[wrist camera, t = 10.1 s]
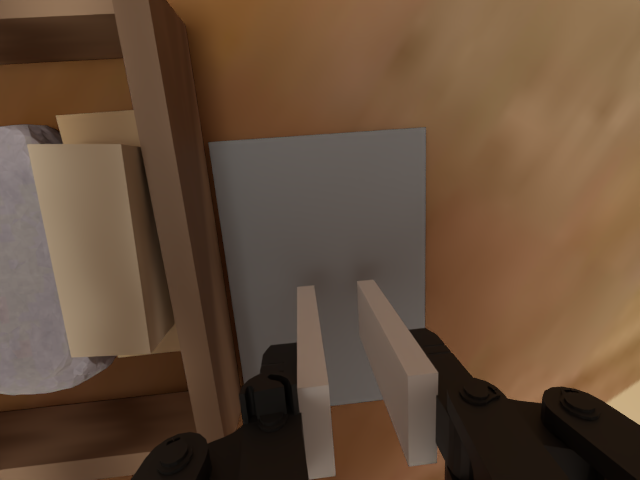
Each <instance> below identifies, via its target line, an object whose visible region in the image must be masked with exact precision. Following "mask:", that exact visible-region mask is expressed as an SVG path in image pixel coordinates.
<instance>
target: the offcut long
mask: <svg viewBox="0 0 640 480" xmlns="http://www.w3.org/2000/svg"><path fill="white" fill-rule="evenodd" d="M56 119H57V123H58V126H59V130H60V134H61V138H62V142H63V144H123V145H130V146H137V147H141V146H140V141H139V136H138V130H137V125H136V120H135V115H134V110H126V111H112V112H98V113H84V114H71V115H57V116H56ZM174 323H175V319H174ZM175 351H181V349H180V344H179V339H178V334H177V329H176V324H174V325H173V326H172V328H171V329H170V330H169V331H168V333H167V334H166V335H165V337H164V338H163V339H162V340H161V342H160V343H159V344H158V345H157V347H156V348H155V349H154V350H153V352H152V353H151V354H157V353H166V352H175ZM139 355H148V354H138V355H118V358H120V357H129V356H139Z"/></svg>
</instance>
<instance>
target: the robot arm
mask: <svg viewBox="0 0 640 480" xmlns="http://www.w3.org/2000/svg"><path fill="white" fill-rule="evenodd" d="M357 294H358V314H359V335H360V338H361V341H362V344H363V346H364V349H365V352H366V354H367V357H368V360H369V362H370V365H371V368H372V370H373V373H374V376H375V378H376V381H377V384H378V386H379V389H380V392H381V394H382V397H383V400H384V402H385V405H386V408H387V410H388V413H389V415H390V418H391V421H392V423H393V426H394V429H395V431H396V434H397V437H398V439H399V442H400V445H401V447H402V450H403V453H404V455H405V458H406V461H407V463H408V466H417V465H425V464H433V463H437V446H438V448H439V450H440V452H441V454H442V456H443V458H444V460H445V480H640V425H639V424H637V423H636V422H634V421H633V420H631V419H629V418H628V417H626V416H625V415H623V414H622V413H620V412H619V411H617V410H616V409H614V408H613V407H611V406H609V405H608V404H606V403H605V402H603V401H602V400H600V399H598V398H596V397H594V396H592V395H590V394H588V393H586V392H583V391H580V390H577V389H573V388H566V387H552V388H550V389H548V390H546V391H544V394H543V397H542V403H534V402H526V401H517V400H512V399H507V398H506V396H505V395H504V394H503V393H502V392H501V391H500V390H499V389H498V388H497V387H496V386H494V385H492V384H490V383H488V382H486V381H483V380H480V379H477V378H473V377H472V376H471V375H470V373H469V372H468V371H467V370H466V369H465V368H464V366H463V365H462V364H461V363H460V362H459V360H458V359H457V358H456V357H455V356H454V355H453V353H451V352H450V350H449V349H448V347H447V346H446V345H444V343H443V342H442V340H441V339H440V338H439V337H438V336H437V335H436V334H435V333H433V332H431V331H429V330H428V329H426V328H419V329H409V330H408V328H407V327H406V326H405V324H404V323H403V321H402V320H401V318H400V317H399V316H398V314H397V313H396V311H395V310H394V308H393V307H392V305H391V304H390V303H389V301H388V300H387V298H386V297H385V295H384V294H383V293H382V291H381V290H380V288H379V287H378V285H377V284H376V283H375V281H374V280H364V281H357ZM239 400H240V406H241V413H242V419H243V426H242V427H240V428H239V429H238V430H236V431H235V432H233V433H231V434H229V435H227V436H225V437H223V438H220V439H218V440H215V441H213V442H210V443H207V441H206V439H205V438H204V437H203V436H202V435H201V434H199V433H193V432H186V433H180V434H177V435H175V436H172V437H170V438H168V439H166V440H164V441H163V442H162V443H160V444H159V445H157V446H156V447H155V448H154V449H153V450H152V451H151V452H150V453H149V455H148V456H147V457H146V458H145V459H144V461H143V462H142V464H141V465H140V467H139V468H138V470H137V471H136V473H135V474H134V476H133V477H132V479H131V480H309V479H317V478H324V477H332V476H336V473H335V460H334V447H333V434H332V421H331V408H330V395H329V383H328V377H327V370H326V363H325V356H324V349H323V343H322V336H321V329H320V322H319V315H318V309H317V302H316V295H315V288H314V285H312V286H301V287H297V342H295V343H286V344H276V345H270V346H269V348H268V349H267V350H266V351H265V353H264V354H263V357H262V363H261V368H260V374H258V375H256V376H254V377H252V378H251V379H249V380H248V381H247V382H246V383H245V384H244V385H243V386H242V387H241V390H240V393H239Z"/></svg>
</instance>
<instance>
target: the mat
mask: <svg viewBox="0 0 640 480" xmlns="http://www.w3.org/2000/svg"><path fill="white" fill-rule="evenodd" d="M208 144H209V150H210V157H211V164H212V171H213V177H214V184H215V191H216V198H217V204H218V211H219V218H220V225H221V231H222V238H223V245H224V252H225V258H226V265H227V272H228V279H229V285H230V292H231V299H232V306H233V312H234V319H235V326H236V333H237V339H238V346H239V353H240V359H241V366H242V373H243V380H244V384H245V383H246V382H247V381H248V380H249V379H251V378H252V377H254V376H256V375H258V374H260V368H261V363H262V357H263V354H264V353H265V351H266V350H267V349H268V348H269V346H270V345H276V344H286V343H295V342H297V287H301V286H312V285H314V288H315V295H316V302H317V309H318V315H319V322H320V329H321V336H322V343H323V349H324V356H325V363H326V370H327V377H328V383H329V395H330V406H334V405H343V404H351V403H360V402H368V401H377V400H383V397H382V394H381V392H380V389H379V386H378V384H377V381H376V378H375V376H374V373H373V370H372V368H371V365H370V362H369V360H368V357H367V354H366V352H365V349H364V346H363V344H362V341H361V338H360V335H359V314H358V294H357V281H364V280H374V281H375V283H376V284H377V285H378V287H379V288H380V290H381V291H382V293H383V294H384V295H385V297H386V298H387V300H388V301H389V303H390V304H391V305H392V307H393V308H394V310H395V311H396V313H397V314H398V316H399V317H400V318H401V320H402V321H403V323H404V324H405V326H406V327H407V328H408V330H409V329H419V328H425V215H426V127H422V128H408V129H393V130H379V131H364V132H350V133H335V134H321V135H306V136H292V137H277V138H263V139H248V140H234V141H219V142H208Z"/></svg>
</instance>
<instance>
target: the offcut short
mask: <svg viewBox="0 0 640 480" xmlns="http://www.w3.org/2000/svg"><path fill="white" fill-rule="evenodd" d="M27 147H28V151H29V156H30V161H31V166H32V171H33V176H34V180H35V185H36V190H37V195H38V200H39V204H40V209H41V214H42V219H43V224H44V228H45V233H46V238H47V243H48V248H49V253H50V257H51V262H52V267H53V272H54V277H55V281H56V286H57V291H58V296H59V301H60V305H61V310H62V315H63V320H64V325H65V329H66V334H67V339H68V344H69V349H70V354H71V358H72V357H94V356H116V355H138V354H151V353H152V352H153V350H154V349H155V348H156V347H157V345H158V344H159V343H160V342H161V340H162V339H163V338H164V337H165V335H166V334H167V333H168V331H169V330H170V329H171V328H172V326H173V325H174V324H175V323H174V314H173V309H172V304H171V298H170V293H169V288H168V283H167V278H166V273H165V268H164V263H163V258H162V253H161V248H160V242H159V237H158V232H157V227H156V222H155V217H154V212H153V207H152V202H151V197H150V192H149V186H148V181H147V176H146V171H145V166H144V161H143V156H142V151H141V147H137V146H130V145H123V144H27Z"/></svg>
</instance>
